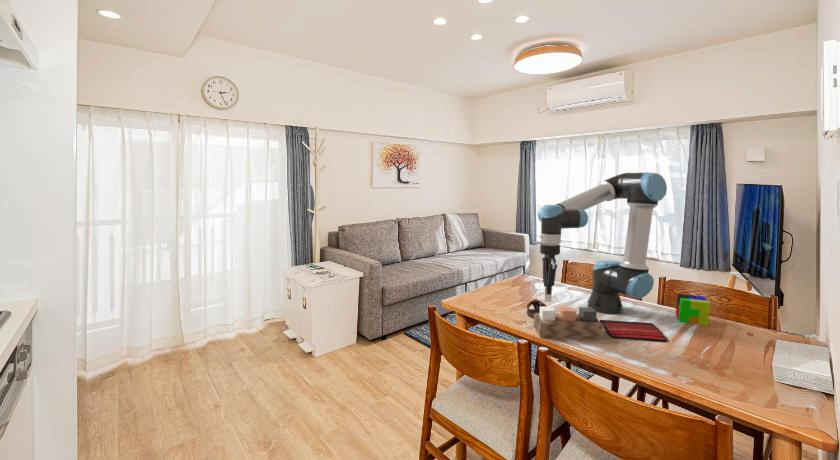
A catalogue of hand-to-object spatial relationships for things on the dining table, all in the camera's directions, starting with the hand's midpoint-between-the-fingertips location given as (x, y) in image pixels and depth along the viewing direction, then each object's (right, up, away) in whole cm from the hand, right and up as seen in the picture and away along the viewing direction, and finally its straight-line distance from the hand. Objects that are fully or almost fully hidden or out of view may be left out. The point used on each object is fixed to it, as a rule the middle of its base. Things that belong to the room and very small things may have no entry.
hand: (547, 301), depth 155 cm
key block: (+8, -13, +1) cm, 16 cm away
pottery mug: (+3, -11, +21) cm, 24 cm away
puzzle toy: (+68, -11, +14) cm, 71 cm away
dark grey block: (+16, -9, 0) cm, 19 cm away
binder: (+35, -14, +2) cm, 38 cm away
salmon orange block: (+8, -9, +1) cm, 12 cm away
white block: (0, -9, +1) cm, 9 cm away
